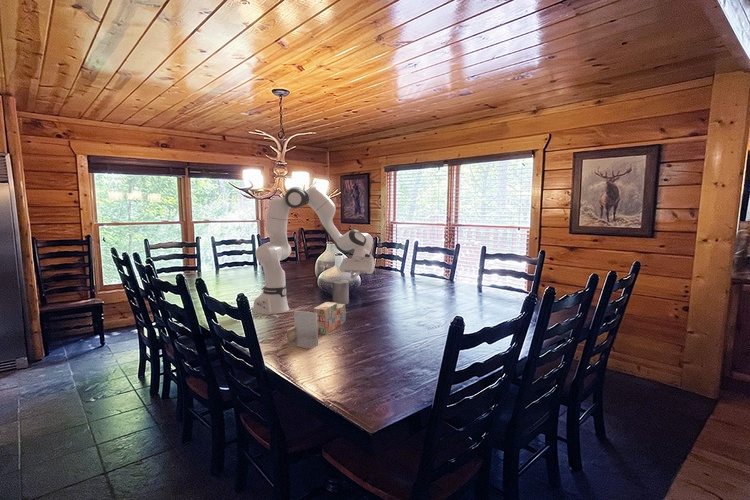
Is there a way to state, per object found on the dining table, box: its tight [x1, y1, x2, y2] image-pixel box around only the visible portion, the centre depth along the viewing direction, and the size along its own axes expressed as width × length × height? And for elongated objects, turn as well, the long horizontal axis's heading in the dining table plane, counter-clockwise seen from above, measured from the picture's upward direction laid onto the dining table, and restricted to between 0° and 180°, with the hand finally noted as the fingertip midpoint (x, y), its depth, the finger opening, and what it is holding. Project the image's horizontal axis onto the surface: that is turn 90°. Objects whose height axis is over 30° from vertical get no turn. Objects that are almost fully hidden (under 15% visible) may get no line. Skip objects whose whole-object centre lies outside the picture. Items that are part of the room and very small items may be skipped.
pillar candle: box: [332, 278, 350, 306], centre depth 236 cm, size 10×10×15 cm
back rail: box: [286, 325, 295, 344], centre depth 185 cm, size 2×32×6 cm, turn 157°
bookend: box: [288, 309, 319, 350], centre depth 168 cm, size 11×6×14 cm, turn 67°
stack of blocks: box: [313, 301, 347, 336], centre depth 192 cm, size 21×6×12 cm, turn 158°
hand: (353, 278), depth 216 cm, fingers closed
